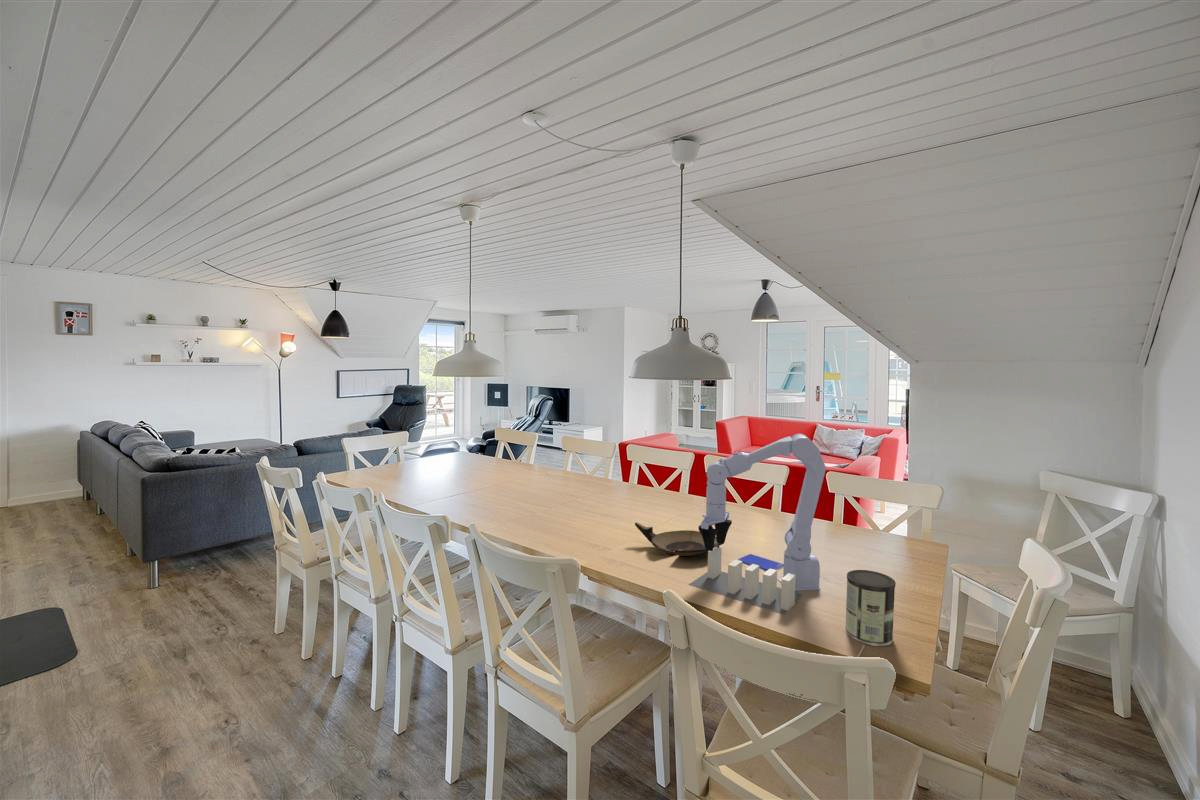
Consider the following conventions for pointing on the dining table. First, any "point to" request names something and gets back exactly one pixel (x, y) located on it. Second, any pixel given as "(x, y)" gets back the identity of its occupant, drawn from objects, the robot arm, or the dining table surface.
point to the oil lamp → (677, 541)
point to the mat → (740, 591)
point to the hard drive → (761, 562)
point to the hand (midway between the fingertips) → (714, 546)
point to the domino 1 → (714, 562)
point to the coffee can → (870, 607)
